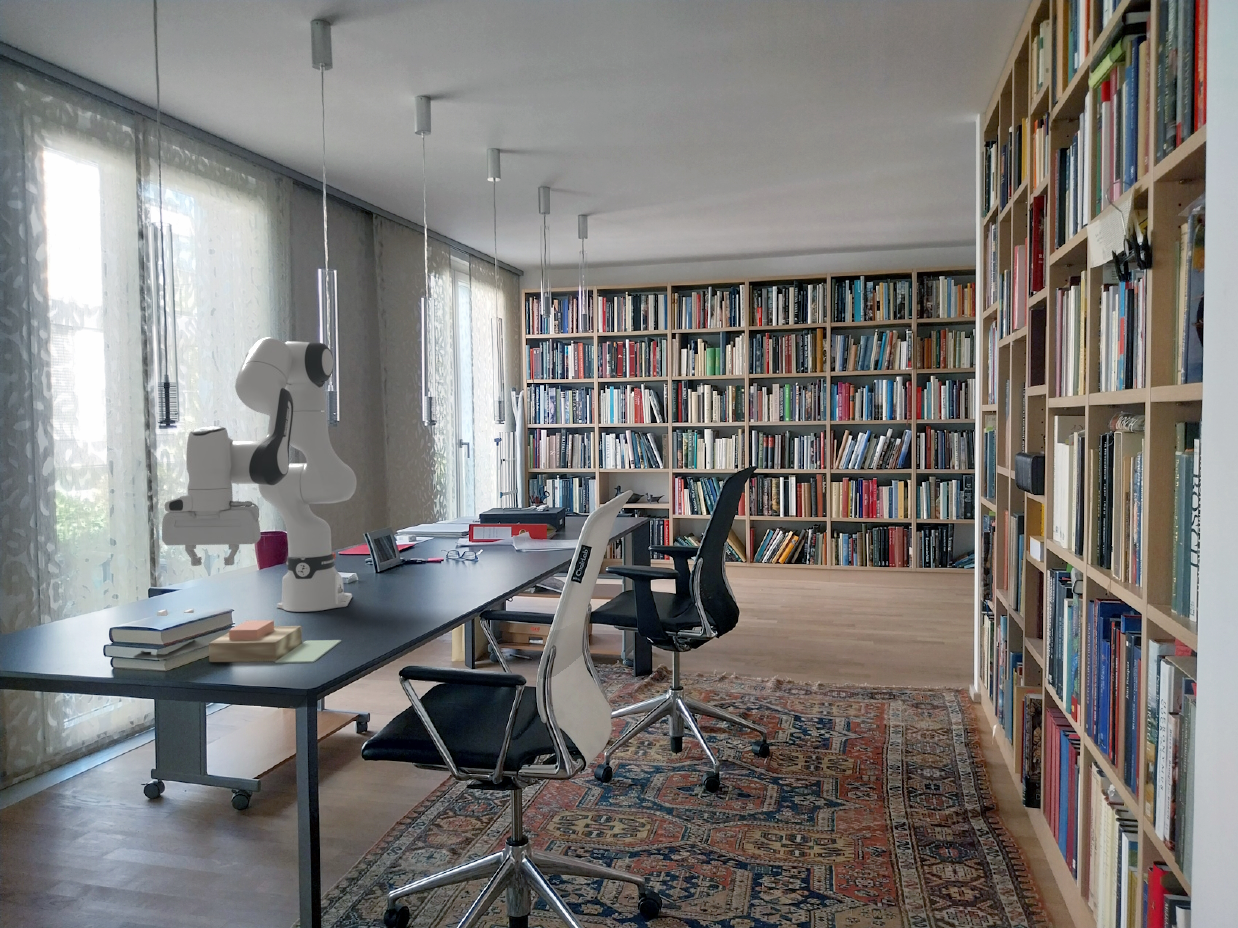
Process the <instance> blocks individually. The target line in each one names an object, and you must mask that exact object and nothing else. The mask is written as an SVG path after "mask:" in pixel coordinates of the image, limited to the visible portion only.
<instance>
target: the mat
mask: <svg viewBox="0 0 1238 928" xmlns="http://www.w3.org/2000/svg"><path fill="white" fill-rule="evenodd" d="M341 642H342V640H341V639H331V640H330V639H327V640H326V639H323V640H320V639H319V640H314V639H313V640H305V641H302V644H300V645H299V646H297V647H296V648H294V649H293V650H291V651H290V652H289V653H287V654H286V655H284V656H283V657H281V658H280V659H278V660H277V661H274V663H275V664H297V663H298V664H302V663H303V664H304V663H305V664H307V663H308V664H310V663H311V664H312V663H315V662H316V661H318V660H319V659H320V658H322V657H323V656H325V654H327V653H328V652H329V651H331V650H332V649H333V648H335V647H336V646H337V645H339V644H340V643H341Z"/></svg>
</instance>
